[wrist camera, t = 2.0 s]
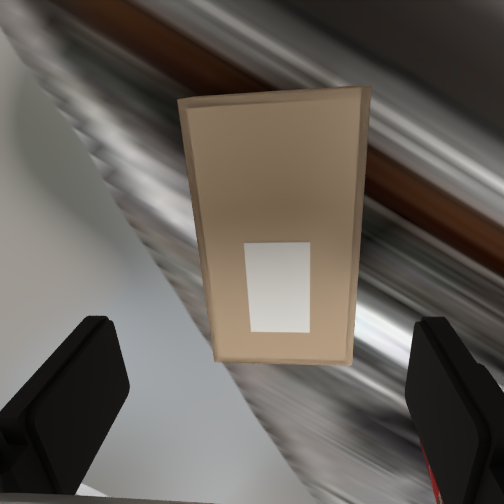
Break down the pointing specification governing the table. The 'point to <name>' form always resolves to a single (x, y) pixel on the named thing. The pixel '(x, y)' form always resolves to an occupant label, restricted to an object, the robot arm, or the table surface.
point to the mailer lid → (279, 219)
